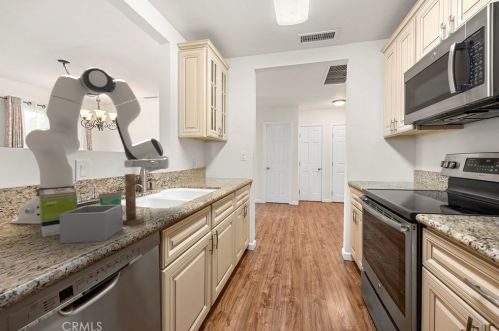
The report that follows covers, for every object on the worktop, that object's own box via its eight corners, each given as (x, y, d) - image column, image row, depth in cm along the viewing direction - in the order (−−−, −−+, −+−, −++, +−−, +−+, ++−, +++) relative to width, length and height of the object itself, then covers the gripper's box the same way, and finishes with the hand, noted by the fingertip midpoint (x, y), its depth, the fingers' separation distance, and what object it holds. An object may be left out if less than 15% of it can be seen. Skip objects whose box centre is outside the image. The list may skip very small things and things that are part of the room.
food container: (109, 215, 104) (109, 194, 103) (98, 214, 105) (98, 193, 105) (129, 209, 116) (128, 190, 115) (118, 209, 117) (118, 190, 117)
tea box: (40, 228, 85) (38, 189, 85) (73, 222, 92) (72, 187, 92) (41, 237, 75) (39, 193, 74) (78, 230, 82) (77, 190, 81)
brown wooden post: (117, 225, 88) (116, 174, 87) (123, 222, 92) (122, 173, 92) (139, 224, 89) (138, 174, 88) (143, 221, 94) (142, 173, 93)
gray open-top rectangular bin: (60, 243, 69) (59, 214, 69) (85, 229, 82) (84, 205, 82) (105, 240, 71) (104, 212, 71) (122, 228, 84) (122, 204, 84)
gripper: (130, 157, 116) (118, 157, 102) (170, 156, 119) (164, 156, 105) (130, 169, 116) (118, 171, 103) (171, 168, 119) (165, 169, 105)
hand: (142, 163), depth 104 cm, fingers open, 8 cm apart
